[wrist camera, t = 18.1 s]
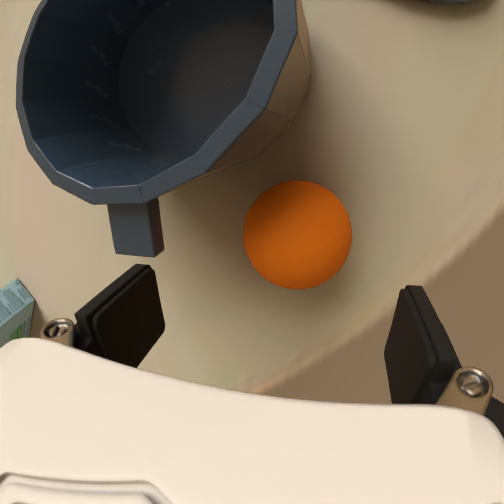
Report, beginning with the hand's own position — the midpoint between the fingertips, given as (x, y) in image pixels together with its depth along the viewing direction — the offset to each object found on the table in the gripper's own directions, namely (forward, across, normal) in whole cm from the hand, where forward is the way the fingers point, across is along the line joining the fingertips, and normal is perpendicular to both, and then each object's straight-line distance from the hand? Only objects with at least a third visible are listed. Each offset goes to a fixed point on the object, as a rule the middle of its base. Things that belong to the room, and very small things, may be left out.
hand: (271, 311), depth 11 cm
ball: (+11, 0, 0) cm, 11 cm away
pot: (+11, +7, -11) cm, 17 cm away
